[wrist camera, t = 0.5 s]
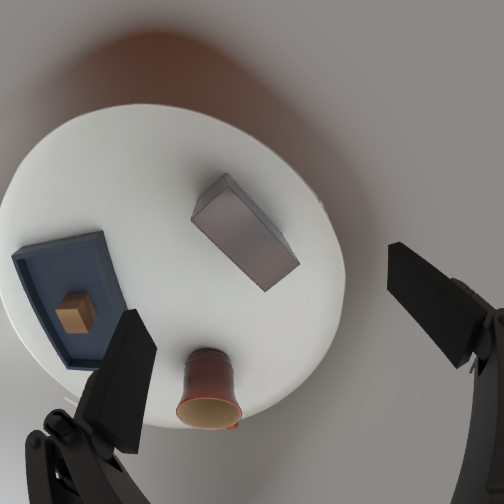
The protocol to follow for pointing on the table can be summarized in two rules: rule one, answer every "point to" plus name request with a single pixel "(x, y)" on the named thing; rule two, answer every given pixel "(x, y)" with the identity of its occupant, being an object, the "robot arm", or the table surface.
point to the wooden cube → (76, 313)
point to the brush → (244, 233)
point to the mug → (209, 392)
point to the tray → (71, 282)
